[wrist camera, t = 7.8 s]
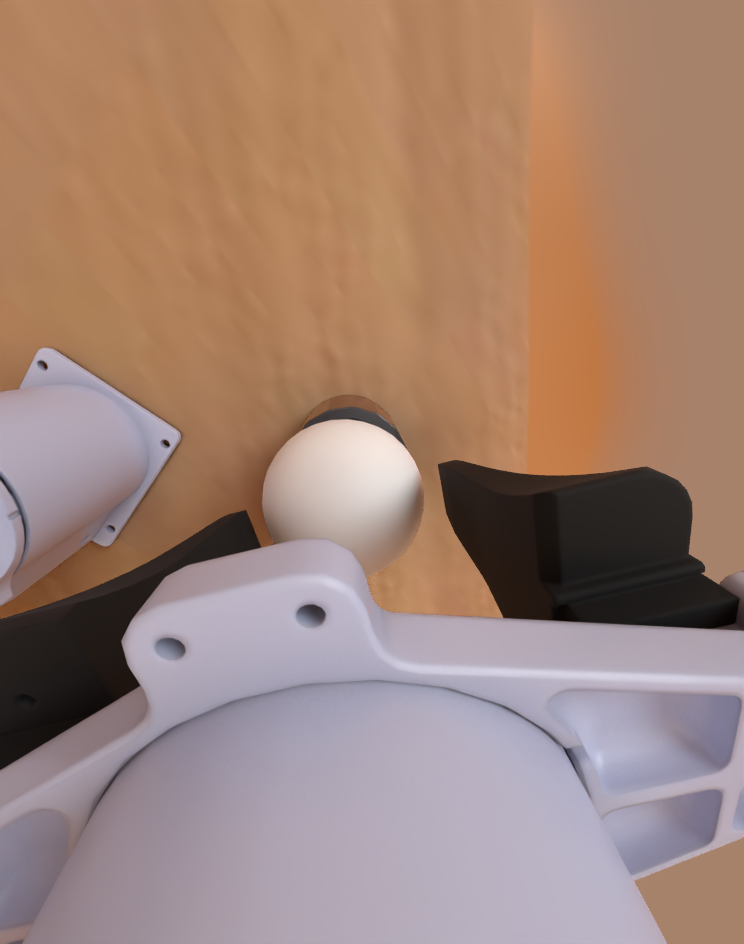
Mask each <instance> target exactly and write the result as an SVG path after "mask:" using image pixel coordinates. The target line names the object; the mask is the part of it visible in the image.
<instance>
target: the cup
mask: <svg viewBox="0 0 744 944" xmlns="http://www.w3.org/2000/svg"><path fill="white" fill-rule="evenodd" d="M344 419H349V420H356V421H362V422H366V423H369V424H372V425H374V426H377V427H380V428H381V429H383V430H385V431H386V432H388V433H390V434H391V435H393V436H394V437H395V438H396V439H397V440H398V441H399V442H400V443H401V444H403V445H404V447H405V448H406V446H405V444H404V442H403V440H402V438H401V436H400V434H399V432H398V431H397V429H396V427H395V425H394V423H393V422H392V420H391V418H390V416H389V415H388V413H387V412H385V410H384V409H383V408H381V407H380V406H379V405H378V404H376V403H375V402H373V401H371V400H369V399H367V398H364V397H361V396H357V395H341V396H336V397H333V398H330V399H328V400H326V401H324V402H322V403H321V404H319V405H318V406H317V407H316V408H315V409H314V410H313V411H312V412H311V413H310V415H309V416H308V418H307V419H306V420H305V422H304V423H303V425H302V426H301V428H300V430H299V432H300V431H301V430H304V429H306V428H308V427H310V426H312V425H314V424H317V423H321V422H325V421H329V420H344ZM299 432H298V433H299Z"/></svg>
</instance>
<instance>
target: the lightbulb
mask: <svg viewBox="0 0 744 944" xmlns="http://www.w3.org/2000/svg"><path fill="white" fill-rule="evenodd" d="M423 503H424V490H423V485H422V480H421V475H420V473H419V471H418V468H417V466H416V464H415V461H414V460H413V458H412V456H411V455H410V454H409V452H408V451H407V449H406V448H405V447H404V445H403V444H401V443H400V442H399V441H398V440H397V439H396V438H395V437H394V436H393V435H391V434H390V433H388V432H386V431H385V430H383V429H381V428H380V427H377V426H374V425H372V424H369V423H366V422H362V421H356V420H349V419H344V420H329V421H325V422H321V423H317V424H314V425H312V426H310V427H308V428H306V429H304V430H301V431H300V432H299V433H297V434H296V435H295V436H293V437H292V438H291V439H289V440H288V441H287V442H286V443H285V444H284V446H283V447H282V448H281V449H280V450H279V451H278V453H277V454H276V456H275V457H274V459H273V461H272V463H271V465H270V466H269V468H268V470H267V474H266V477H265V481H264V484H263V498H262V508H263V515H264V520H265V523H266V526H267V529H268V531H269V534H270V537H271V539H272V541H273V542H274V544H279V543H283V542H287V541H291V540H296V539H313V538H327V539H329V540H331V541H333V542H335V543H337V544H339V545H341V546H344V547H346V548H348V549H350V550H351V551H352V553H353V554H354V556H355V557H356V559H357V560H358V562H359V563H360V565H361V566H362V568H363V569H364V573H365V576H366V577H369V576H371V575H374V574H376V573H378V572H380V571H382V570H383V569H385V568H386V567H388V566H390V565H391V564H393V563H394V562H395V561H396V560H397V559H398V558H399V557H400V556H402V555H403V554H404V553H405V551H406V550H407V549H408V547H409V546H410V544H411V543H412V542H413V539H414V537H415V535H416V533H417V531H418V528H419V526H420V522H421V518H422V514H423Z"/></svg>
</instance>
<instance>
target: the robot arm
mask: <svg viewBox="0 0 744 944" xmlns="http://www.w3.org/2000/svg"><path fill="white" fill-rule="evenodd" d="M43 362H45V363H46V364H47V366H48V368H47V369H45V368H44V366H43ZM164 440H167V441H168V442H169V443H170V447H168V446H166V445H165V444H164ZM180 440H181V435H180V433H179V431H178V430H176V429H175V428H173V427H172V426H170V425H169V424H167V423H166V422H164V421H163V420H161V419H160V418H158V417H157V416H155V415H154V414H152V413H151V412H149V411H148V410H146V409H144V408H143V407H141V406H140V405H138V404H137V403H135V402H134V401H132V400H131V399H129V398H128V397H126V396H125V395H123V394H122V393H120V392H119V391H117V390H115V389H114V388H112V387H111V386H109V385H108V384H106V383H105V382H103V381H102V380H100V379H99V378H97V377H96V376H94V375H93V374H91V373H90V372H88V371H87V370H85V369H83V368H82V367H80V366H79V365H77V364H76V363H74V362H73V361H71V360H70V359H68V358H67V357H65V356H64V355H62V354H61V353H59V352H58V351H56V350H54V349H52V348H41V349H39V350H38V351H37V353H36V355H35V357H34V359H33V361H32V363H31V365H30V367H29V369H28V371H27V373H26V375H25V377H24V379H23V381H22V383H21V385H20V387H19V389H17V390H10V391H2V392H0V607H1V606H2V605H4V604H6V603H8V602H10V601H11V600H13V599H15V598H16V597H17V596H19V595H20V594H21V593H23V592H24V591H25V590H27V589H28V588H29V587H31V586H32V585H33V584H35V583H36V582H37V581H38V580H40V579H41V578H42V577H44V576H45V575H46V574H48V573H49V572H50V571H52V570H53V569H54V568H56V567H57V566H58V565H59V564H61V563H62V562H63V561H65V560H66V559H67V558H69V557H70V556H71V555H73V554H74V553H75V552H77V551H78V550H79V549H81V548H82V547H83V546H84V545H86V544H87V543H88V542H90V541H93V542H95V543H97V544H99V545H101V546H110V545H111V544H112V543H113V542H114V541H115V540H116V538H117V537H118V535H119V534H120V532H121V531H122V529H123V528H124V526H125V525H126V523H127V522H128V520H129V518H130V517H131V515H132V514H133V512H134V511H135V509H136V508H137V506H138V505H139V503H140V502H141V500H142V499H143V497H144V496H145V494H146V492H147V491H148V489H149V488H150V486H151V485H152V483H153V482H154V480H155V479H156V477H157V476H158V474H159V473H160V471H161V470H162V468H163V466H164V465H165V463H166V462H167V460H168V459H169V457H170V456H171V454H172V453H173V451H174V450H175V448H176V447H177V445H178V444H179V442H180ZM438 468H439V474H440V480H441V485H442V491H443V497H444V503H445V508H446V514H447V516H448V518H449V521H450V523H451V525H452V527H453V530H454V532H455V534H456V535H457V537H458V539H459V540H460V542H461V543H462V545H463V546H464V548H465V550H466V551H467V553H468V554H469V556H470V557H471V559H472V560H473V562H474V564H475V565H476V567H477V568H478V570H479V571H480V573H481V574H482V576H483V578H484V579H485V581H486V583H487V585H488V586H489V588H490V591H491V593H492V595H493V597H494V599H495V601H496V603H497V605H498V607H499V609H500V611H501V613H502V615H503V618H491V617H472V616H452V615H433V614H414V613H395V612H388V611H386V610H384V609H382V608H380V607H379V606H378V605H377V604H376V603H375V602H374V599H373V597H372V595H371V593H370V590H369V587H368V583H367V580H366V576H365V573H364V569H363V568H362V566H361V565H360V563H359V562H358V560H357V559H356V557H355V556H354V554H353V553H352V551H351V550H350V549H348V548H346V547H344V546H341V545H339V544H337V543H335V542H333V541H331V540H329V539H327V538H313V539H296V540H291V541H287V542H283V543H279V544H275V545H270V546H266V547H262V548H261V546H260V543H259V541H258V538H257V536H256V533H255V531H254V528H253V526H252V523H251V521H250V519H249V516H248V514H247V511H246V510H245V511H241V512H237V513H232V514H229V515H226V516H224V517H222V518H220V519H218V520H217V521H215V522H213V523H212V524H210V525H208V526H207V527H205V528H204V529H202V530H201V531H199V532H198V533H196V534H194V535H193V536H191V537H190V538H188V539H187V540H185V541H183V542H182V543H180V544H178V545H177V546H175V547H174V548H172V549H170V550H169V551H167V552H165V553H164V554H162V555H160V556H158V557H157V558H155V559H153V560H151V561H149V562H148V563H146V564H144V565H142V566H140V567H138V568H136V569H134V570H132V571H130V572H128V573H126V574H123V575H121V576H119V577H117V578H114V579H112V580H110V581H108V582H105V583H103V584H101V585H99V586H96V587H94V588H91V589H89V590H86V591H84V592H81V593H79V594H76V595H73V596H71V597H68V598H65V599H62V600H60V601H57V602H54V603H51V604H48V605H45V606H42V607H39V608H36V609H33V610H29V611H26V612H23V613H20V614H16V615H13V616H10V617H7V618H3V619H0V944H667V942H666V941H665V939H664V937H663V935H662V933H661V931H660V929H659V928H658V926H657V924H656V922H655V920H654V918H653V916H652V914H651V913H650V911H649V909H648V907H647V905H646V903H645V901H644V899H643V897H642V896H641V894H640V892H639V890H638V888H637V886H636V884H635V882H634V881H635V880H637V879H640V878H642V877H645V876H647V875H650V874H652V873H655V872H657V871H660V870H662V869H665V868H667V867H670V866H673V865H675V864H678V863H680V862H683V861H685V860H688V859H690V858H693V857H695V856H698V855H700V854H703V853H705V852H708V851H711V850H713V849H715V848H718V847H721V846H723V845H725V844H728V843H731V842H733V841H736V840H738V839H741V838H743V837H744V571H741V572H737V573H733V574H731V575H729V576H727V577H725V578H724V579H723V580H722V581H721V582H720V584H719V585H718V584H717V583H715V582H714V581H712V580H711V579H709V578H708V577H706V576H704V575H703V574H701V573H702V572H705V566H704V564H703V563H702V562H701V561H699V560H698V559H696V558H694V557H693V556H691V555H689V554H688V553H689V544H690V535H691V525H692V501H691V499H690V496H689V494H688V492H687V490H686V489H685V488H684V486H682V484H681V483H680V482H679V481H678V480H676V479H674V478H672V477H670V476H668V475H665V474H663V473H660V472H658V471H656V470H654V469H651V468H649V467H640V468H633V469H627V470H620V471H614V472H607V473H598V474H586V475H569V476H546V475H530V474H520V473H512V472H507V471H501V470H496V469H492V468H487V467H483V466H479V465H476V464H472V463H468V462H464V461H459V460H453V461H449V462H445V463H441V464H438ZM110 525H111V526H113V527H114V528H115V530H114V529H112V528H111V527H110Z"/></svg>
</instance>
